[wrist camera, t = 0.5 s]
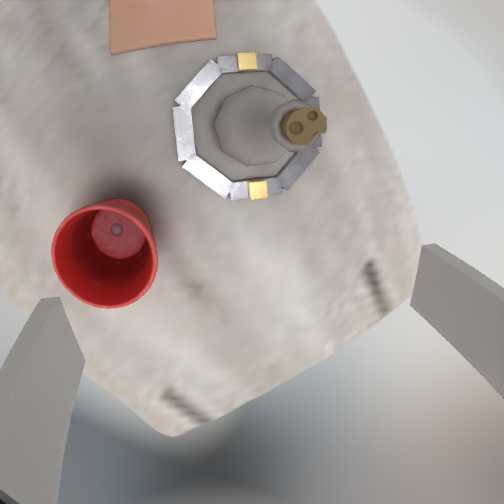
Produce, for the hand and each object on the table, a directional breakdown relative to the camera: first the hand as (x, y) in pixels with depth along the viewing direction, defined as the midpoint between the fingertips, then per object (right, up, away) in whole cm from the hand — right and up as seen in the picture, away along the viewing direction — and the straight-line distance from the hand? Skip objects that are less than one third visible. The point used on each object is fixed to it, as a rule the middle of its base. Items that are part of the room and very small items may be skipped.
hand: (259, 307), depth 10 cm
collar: (-1, +16, +24) cm, 29 cm away
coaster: (-11, +31, +16) cm, 36 cm away
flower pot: (-16, +5, +26) cm, 31 cm away
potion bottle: (-1, +17, +24) cm, 29 cm away
